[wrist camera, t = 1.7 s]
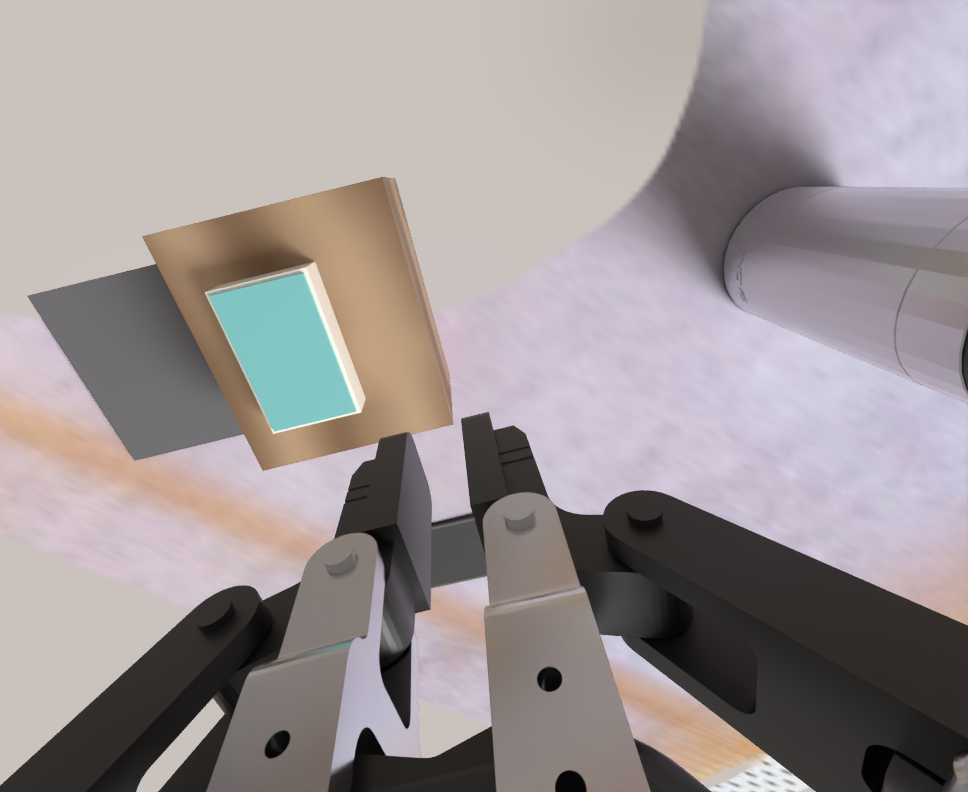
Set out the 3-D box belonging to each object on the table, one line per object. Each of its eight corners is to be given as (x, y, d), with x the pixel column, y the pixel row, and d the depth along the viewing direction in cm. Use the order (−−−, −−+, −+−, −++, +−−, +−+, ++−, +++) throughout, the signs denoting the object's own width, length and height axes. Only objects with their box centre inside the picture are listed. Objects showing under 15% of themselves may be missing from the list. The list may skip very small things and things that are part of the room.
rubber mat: (223, 247, 31) (221, 248, 30) (300, 418, 36) (298, 420, 36) (32, 294, 31) (27, 296, 30) (137, 458, 36) (134, 460, 36)
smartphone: (382, 537, 41) (549, 500, 41) (383, 529, 42) (547, 493, 42) (405, 595, 44) (560, 561, 44) (406, 587, 45) (558, 554, 45)
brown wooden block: (395, 178, 30) (382, 177, 23) (449, 375, 36) (453, 424, 28) (213, 223, 30) (142, 236, 23) (297, 412, 36) (263, 470, 29)
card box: (315, 261, 24) (304, 267, 22) (365, 398, 27) (360, 414, 25) (220, 284, 24) (202, 293, 22) (282, 418, 27) (272, 435, 25)
